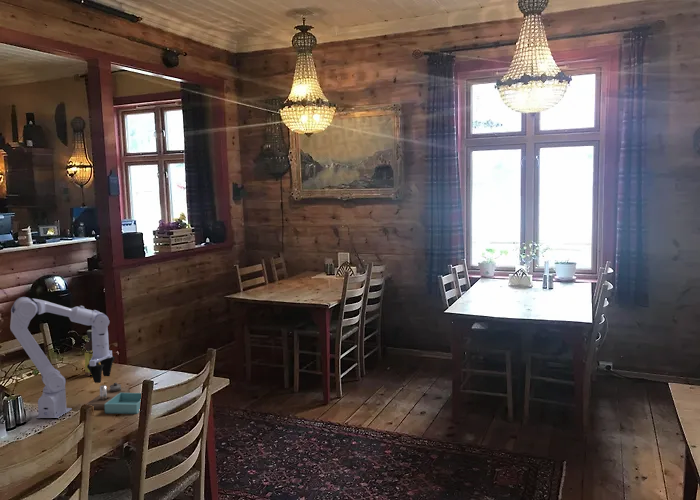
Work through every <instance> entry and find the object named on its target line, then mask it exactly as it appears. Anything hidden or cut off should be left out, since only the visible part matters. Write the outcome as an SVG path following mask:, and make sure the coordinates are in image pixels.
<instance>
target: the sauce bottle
mask: <svg viewBox="0 0 700 500" xmlns="http://www.w3.org/2000/svg"><path fill="white" fill-rule="evenodd" d="M86 334H87V336H88V338H90V341H89V342H87V341H86V342H85V344H84V375H85V376H87V377H91V376H90V375H91V372H90V371H89V369H88V368H87V365H88V364H90V363H89V361H90V360H91V358H92V356H93V353H87V352H86V351H85V349H86V350H87V351H92V329H88V330H87V331H86ZM99 364H100V365H101V363H100V362H99Z"/></svg>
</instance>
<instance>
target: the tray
mask: <svg viewBox="0 0 700 500" xmlns="http://www.w3.org/2000/svg"><path fill="white" fill-rule="evenodd" d="M141 393H142V392H130V393H119V394H117V395H116V396H115V397H113V398H112V399H111V400H109V401H108V402H107V403H105V404H104V405H105V409H104V414H114V415H115V414H120V415H121V414H123V415H125V414H126V415H128V414H129V415H138V414H139V413H140V412H139V409H140V402H141V400H140V399H141Z"/></svg>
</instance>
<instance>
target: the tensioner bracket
mask: <svg viewBox="0 0 700 500" xmlns="http://www.w3.org/2000/svg"><path fill="white" fill-rule="evenodd" d="M130 389H131V388H130V387H122V384H120V383H118V382H113V384H110V386H109V387H108V388H107V400H106V401H100V394H98V395H96V396H95V397H94V398H93V399H90V400H89V401H88V402H87V403H86V405H87V404H88V405H92V406H94V409H93V410H105V405H104V404H105V403H107V402H108V401H109V400H111V399H112V398H113V397H115V396H116V395H117V394H119V393H131V390H130Z"/></svg>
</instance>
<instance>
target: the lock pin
mask: <svg viewBox="0 0 700 500" xmlns="http://www.w3.org/2000/svg"><path fill="white" fill-rule="evenodd" d="M107 389H108V388H107V385H106V384H104V385H103V384H102V385H100V386H99V395H100V401H106V400H107Z"/></svg>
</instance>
